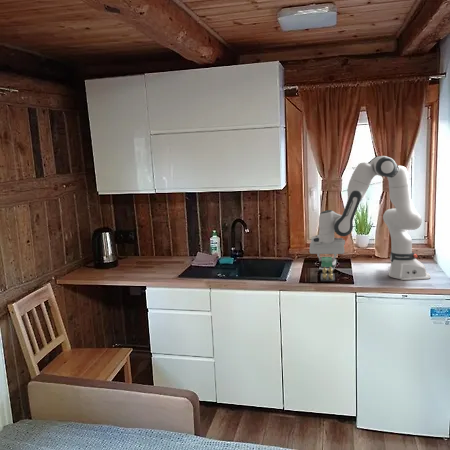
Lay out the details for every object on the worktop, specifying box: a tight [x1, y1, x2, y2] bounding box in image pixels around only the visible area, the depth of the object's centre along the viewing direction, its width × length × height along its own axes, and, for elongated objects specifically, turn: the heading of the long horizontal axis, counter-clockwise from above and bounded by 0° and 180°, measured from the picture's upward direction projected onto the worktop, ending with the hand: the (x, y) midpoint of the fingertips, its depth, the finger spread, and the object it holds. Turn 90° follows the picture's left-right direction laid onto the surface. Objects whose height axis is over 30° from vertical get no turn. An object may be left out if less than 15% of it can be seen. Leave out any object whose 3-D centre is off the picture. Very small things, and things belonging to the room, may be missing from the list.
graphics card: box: [317, 258, 338, 273], centre depth 297 cm, size 10×3×25 cm
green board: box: [321, 256, 333, 267], centre depth 272 cm, size 6×14×2 cm, turn 168°
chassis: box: [320, 267, 336, 282], centre depth 273 cm, size 8×13×5 cm, turn 168°
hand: (326, 261), depth 272 cm, fingers closed on green board, 6 cm apart
